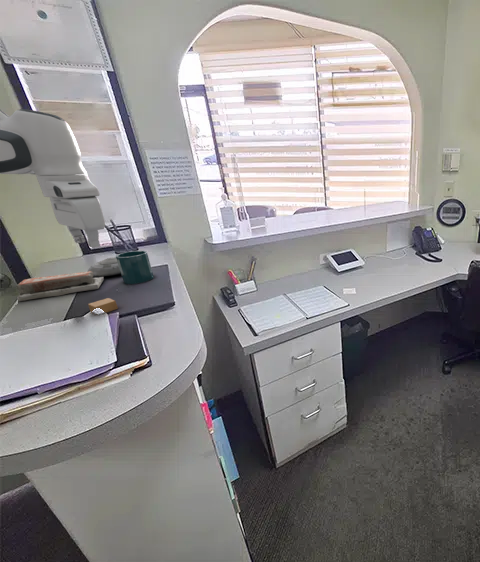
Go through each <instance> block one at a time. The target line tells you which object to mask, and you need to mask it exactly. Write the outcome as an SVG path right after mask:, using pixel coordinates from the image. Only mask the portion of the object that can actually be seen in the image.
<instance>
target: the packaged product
mask: <svg viewBox="0 0 480 562" xmlns="http://www.w3.org/2000/svg"><path fill="white" fill-rule="evenodd" d="M104 280H105V279H104V276H98V277H94V276H93V272H91V271H89V272H87V271H81V272H74V273H73V272H72V273H65V274H57V275H56V274H55V275H48V276H41V277H32V278H27V279H26V278H25V279H23V280H22V281H20V282H19V283H18V284H17V285H16V290H17V291H18V293H19V294H18V295H17V297H16V299H17V301H18V302H22V301H23V302H24V301H29V300H35V299H42V298H50V297H58V296H63V295H67V294H73V293H80V292H85V291H93V290H99V288H100V286H101V285H102V283H103V282H104Z"/></svg>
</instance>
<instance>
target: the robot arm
mask: <svg viewBox="0 0 480 562" xmlns="http://www.w3.org/2000/svg"><path fill="white" fill-rule="evenodd" d="M0 174H1V175H35V177H36V180H37V182H38V185H39V188H40V190H41V193H42V195H43V197H45V198H49V202H50V204H51V207H52V211H53V213H54V217H55V219H56V221H57V223H58V224H59V225H62V226H65V227H66V228H67V230H68V232H69V233H70V235H71V236H72V238H73V242H74V243H77V244H82V243H84V244H85V243H86V242H87V244H88V247H90V248H92V249H96V248H100V247H101V243H100V239H99V237H100V235H99V231H101V230H104V229H105V228H106V221H105V216H104V212H103V209H102V205H101V202H100V199H99V198H98V197H99V196H100V195H101V194H100V190H99V188H98V186H96V185H95V184H93V183H92V181H91V180H90V177H89V174H88V172H87V170H86V168H85V167H84V166H83V162H82V153H81V150H80V147H79V144H78V142H77V139H76V136H75V135H74V133H73V130H72V129H71V127H70V125H69V123H68V122H67V121H66V120H65V119H64V118H62V117H60V116H59V115H57V114H52V113H48V112H43V111H39V110H33V109H26V108H23V109H22V108H20V109H16V110H15V111H14V112H13V113H12V114H11V115H8V113H6V112H4V111H3V110H2V109H0ZM81 230H82V231H84V233H85V235H86V238H87V240H86V238H85V235H83V233H82V231H81Z"/></svg>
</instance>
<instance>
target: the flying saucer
mask: <svg viewBox="0 0 480 562" xmlns="http://www.w3.org/2000/svg"><path fill="white" fill-rule="evenodd" d="M89 271H91V272H93V277H112V276H117V275H121V272H120V268H119V265H118V262H117V259H116V256H111V257H107V258H105V259H102V260H100V261H98V262H96V263H94V264H93V265H91V266H90V267H89V268H88V270H87V271H86V272H89Z"/></svg>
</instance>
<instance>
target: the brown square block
mask: <svg viewBox="0 0 480 562" xmlns="http://www.w3.org/2000/svg"><path fill="white" fill-rule="evenodd" d="M87 305H88V308H89V311H90V313H92V311H93V310H94V309H96V308H100V309H102V310H103V311H104V312H106V313H105V314H107V313H110V312H112V311H115V310H118V309H119V307H118V304H117V301H116V300H115V299H112V298H110V297H107V298H103V299H99V300H96V301H94V302H93V301H92V302H89V303H87Z"/></svg>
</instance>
